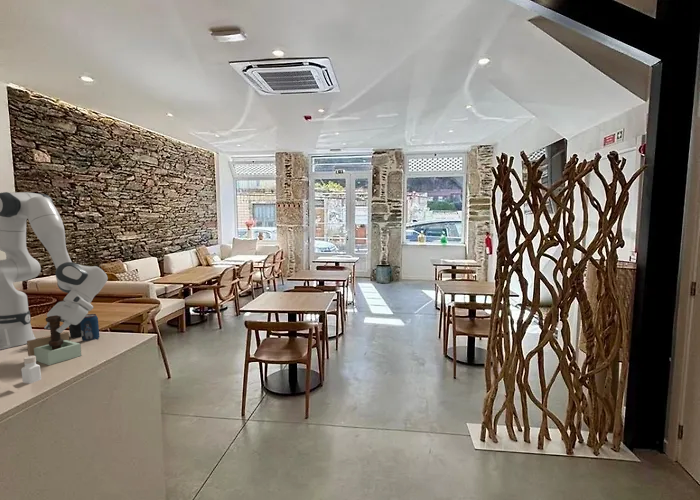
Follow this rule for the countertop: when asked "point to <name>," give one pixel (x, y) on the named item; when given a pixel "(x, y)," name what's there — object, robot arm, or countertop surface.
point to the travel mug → (75, 330)
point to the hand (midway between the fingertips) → (52, 330)
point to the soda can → (90, 327)
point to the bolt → (54, 332)
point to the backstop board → (43, 342)
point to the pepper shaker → (30, 370)
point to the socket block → (57, 352)
